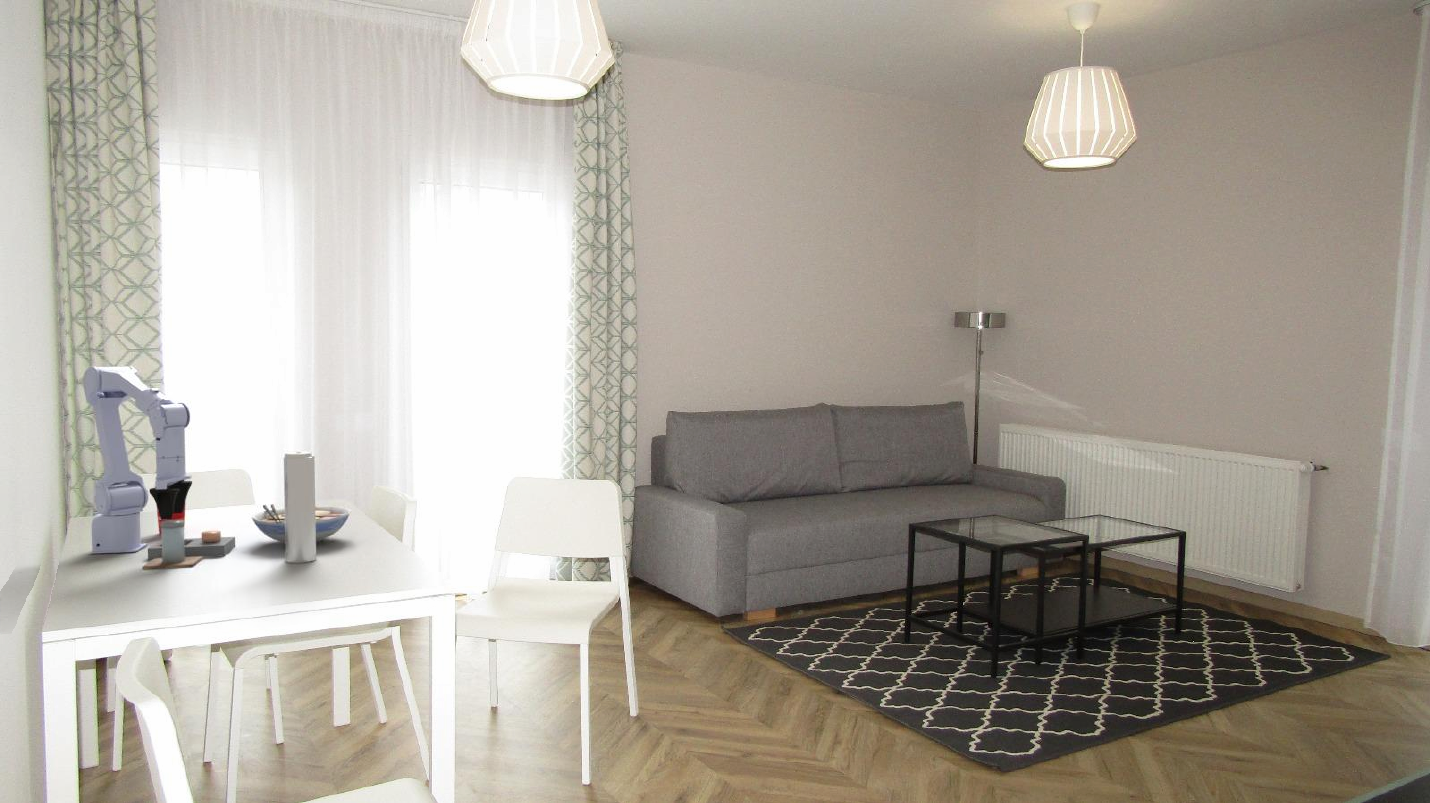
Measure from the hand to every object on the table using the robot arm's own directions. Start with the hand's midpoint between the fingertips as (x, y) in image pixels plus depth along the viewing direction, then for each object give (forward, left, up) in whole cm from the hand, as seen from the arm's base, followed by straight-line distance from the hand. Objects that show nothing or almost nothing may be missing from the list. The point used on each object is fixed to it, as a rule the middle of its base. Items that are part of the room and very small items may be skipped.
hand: (172, 515), depth 212 cm
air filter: (+28, -6, -11) cm, 30 cm away
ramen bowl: (+25, +14, -11) cm, 31 cm away
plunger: (+6, +7, -7) cm, 12 cm away
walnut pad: (+1, -4, -10) cm, 11 cm away
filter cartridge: (+1, -4, -10) cm, 10 cm away
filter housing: (+2, +7, -10) cm, 13 cm away
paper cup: (-10, +33, -11) cm, 36 cm away
